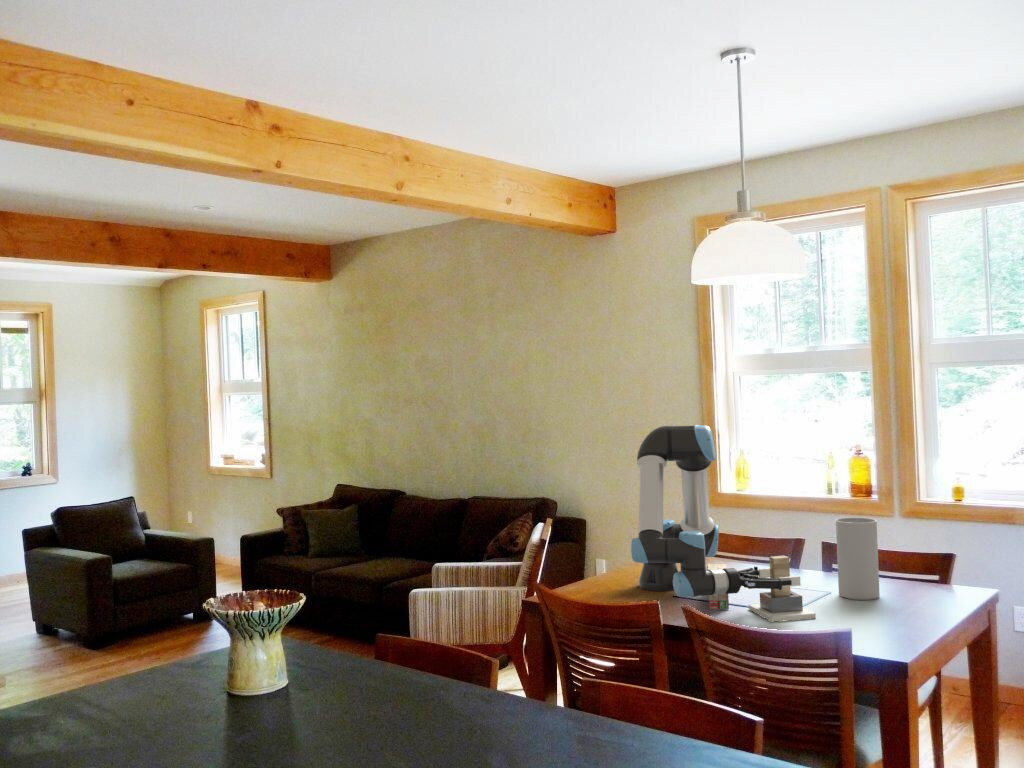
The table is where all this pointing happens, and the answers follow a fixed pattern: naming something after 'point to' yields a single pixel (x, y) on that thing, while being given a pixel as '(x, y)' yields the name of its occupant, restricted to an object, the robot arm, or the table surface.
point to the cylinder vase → (857, 558)
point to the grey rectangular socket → (781, 603)
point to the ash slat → (779, 573)
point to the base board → (782, 614)
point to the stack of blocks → (720, 599)
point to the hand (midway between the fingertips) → (789, 576)
